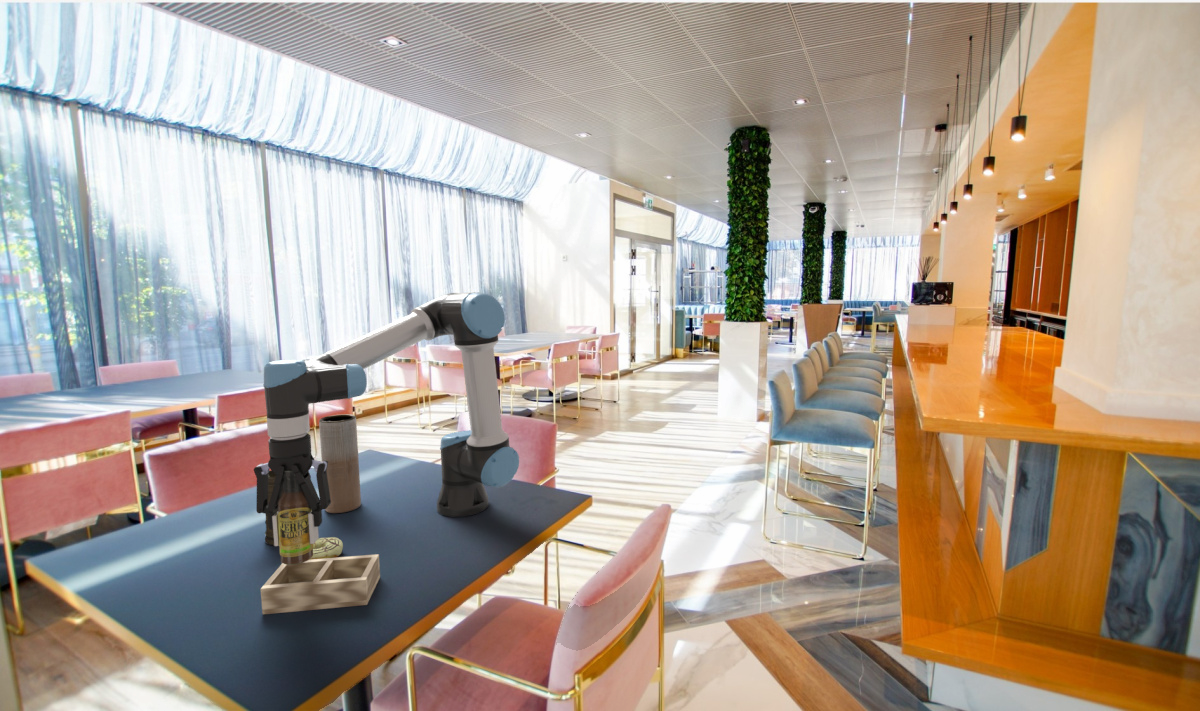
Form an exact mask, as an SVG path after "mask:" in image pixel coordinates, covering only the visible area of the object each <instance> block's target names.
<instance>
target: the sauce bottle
mask: <svg viewBox="0 0 1200 711" xmlns="http://www.w3.org/2000/svg"><path fill="white" fill-rule="evenodd" d="M283 478H284V488H283V489H284V492H283V494H282V496H281V497H280V499H279V502H278V526H279V546H278V547H279V555H280V563H281V564H282V563H284V564H287V565H294V564H299V563H303V562H306V561H308V560H309V559H310V558H311V557H312V556H313V544H310V534H309V519H308V514H309V513H310V512H311V511H312V510H311V508H310V505H309V503H308V501H307V499H306V496H305V494H304V492H303V490H302V487H301V485H300V484H299V483H298V481H297V479H296V477H295V474H294V473H293V471H292V470H290V471H284V474H283Z"/></svg>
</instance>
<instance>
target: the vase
mask: <svg viewBox="0 0 1200 711" xmlns="http://www.w3.org/2000/svg"><path fill="white" fill-rule="evenodd" d="M318 426H319V440H320V454H321V457H320V458H321V461H322V462H323V461H324V460H326V461H328V467H327V471H326V472H327V479H328V485H329V492H330V499H331V504H330V505H329V506H328V507H327V508H326V509H324V510H325V512H327V513H328V514H344V513H349V512H353V511H355V510H356V509H359V507H361V505H362V496H361V493H362V492H361V479H360V478H361V477H360V465H359V464H360V462H359V459H360V458H359V446H358V428H357V416H356V415H355V414H347V413H346V414H344V413H343V414H341V413H340V414H333V415H327V416H324V417H321V418H319V419H318Z"/></svg>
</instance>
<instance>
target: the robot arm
mask: <svg viewBox="0 0 1200 711" xmlns="http://www.w3.org/2000/svg"><path fill="white" fill-rule="evenodd" d="M505 317H506V316H505V311H504V308H503V306H502V305H501V303H500V302H499V300H498V299H497V298H495V297H494V296H493V295H491V294H488V293H480V292H463V293H462V292H461V293H460V292H452V293H451V292H450V293H446V294H443V295H441V296H438V297H436V298H434V299H432V300H429V301H428V302H426V303H423V304H421V305H419V306H417V307H415V308H413V309H412V310H411V311H410V314H408V315H406V316H403V317H402V318H399V319H397V320H395V321H393V322H391V323H388V324H387V325H385V326H382V327H380V328H378V329H374V330H373V331H371V332H368V333H367V334H364V335H362V336H360V337H358V338H356V339H355V338H354V339H353V340H351V341H349V342H347V343H345V344H343V345H340V346H338V347H336V348H334V349H332V350H329V351H327V352H325V353H323V354H321V355H318V356H315V357H314V358H311V359H310V358H309V359H308V358H307V359H282V360H280V359H279V360H273V361H270V362H267V363H266V364H265V365H264V368H263V386H262V387H263V390H264V398H265V409H266V424H267V426H266V427H267V429H266V430H267V436H268V437H269V439H268V454H269V460H268V462H266V463H262V462H261V463H260V464H258V465H256V466H255V467H254V468H253V472H254V474H255V477H256V513H257V514H265V516H266V515H267V516H268V528H269V530H273V534H274V545H273V546H274V547H279V526H278V512H277V510H278V502H279V499H280V497H281V496H282V492H283V488H284V478H283V474H284V471H290V470H292V471H293V473H294V474H295V477H296V479H297V481H298V483H299V484H300V485H301V487H302V490H303V492H304V494H305V496H306V499H307V501H308V503H309V505H310V508H311V510H312V511H311V512H310V513H309V514H308V519H309V534H310V544H314V543H315V542H316V540H317V539H318V538H320V537H319V527H321V525H322V524H323V514H322V512H323V510H325V509H326V508H327V507H328V506H329V505H330V504H331V499H330V492H329V485H328V479H327V472H326V471H327V467H328V461H326V460H324V461H323V462H322V460H317V459H316V460H315V458H314V456H313V455H312V439H311V437H312V436H311V435H310V434H309V432H310V431H311V427H310V408H309V407H310V406H309V405H310V404H317V403H324V402H331V401H338V400H339V401H340V400H345V399H347V400H350V399H352V398H357V397H361V396H363V395H364V393H365V392H366V389H367V387H368V386H367V384H368V381H367V380H368V379H367V378H368V377H367V374H366V372H365V369H367V368H369V367H371V366H374V365H375V364H377V363H380V362H382V361H383V360H385V359H387V358H390V357H392V356H394V355H396V354H397V353H399V352H402V351H404V350H405V349H408V348H410V347H411V346H413V345H415V344H418V343H419V342H422V341H423V340H426V341H432V340H434V339H436V338H438V337H442V336H451V335H453V340H454V341H453V342H454V346H455V347H456V348H457V349H459V350H460V352H461V357H462V358H461V359H462V365H463V367H462V368H463V376H464V384H465V392H466V400H467V407H468V408H467V409H468V417H469V418H468V420H469V426H470V430H462V431H456V432H450V433H448V434H445V435H444V436H442V437H441V438H440V448H439V450H440V460H441V461H440V463H441V478H442V479H441V488H440V490H439V495H438V498H437V500H436V511H437V512H438V514H440V515H442V516H445V517H452V518H460V517H461V518H462V517H468V516H469V517H470V516H473V515H477V514H479V513H481V512H483V511H485V510H486V509H487V508H488V507H489V495H488V493H487V490H486V488H485V486H486V487H492V488H502V487H504V486H507V485H508V484H509V483H510V482H511V481H512V480H513V478H514V477H515V475H516V474H517V472H518V469H519V466H520V455H519V453H518V451H517V450H516V449H515V448H513V447H511V445H510V440H509V439H510V437H509V433H508V432H506V431H504V430H503V424H502V415H501V407H500V394H499V387H498V375H497V367H496V360H495V359H496V358H495V350H494V348H495V346H496V345H497V344H498V342H499V334H500V333H501V332H502V331H503V327H504V326H505V321H506V318H505ZM311 468H313V471H314V472H315V474H316V475H315V476H316V483H317V489H318V490H316V488H315V486H314V483H313V480H312V476H311V474H310V469H311ZM271 470H272V471H273V472H274V473H275V474H276V478H275V481H274V488H273V491H272V494H271V498H270V501H269V505H268V473H269V471H271ZM317 491H318V492H317Z"/></svg>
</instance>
